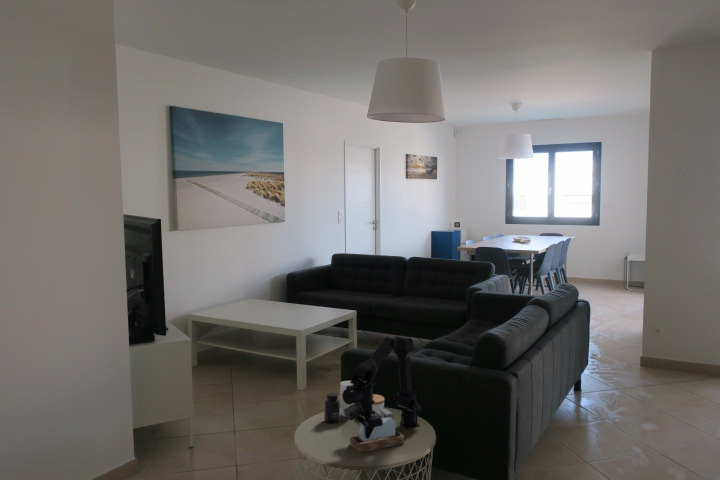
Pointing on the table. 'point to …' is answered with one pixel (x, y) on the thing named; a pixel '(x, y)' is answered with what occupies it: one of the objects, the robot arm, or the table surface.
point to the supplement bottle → (332, 409)
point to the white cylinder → (343, 404)
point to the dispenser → (385, 412)
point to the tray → (376, 442)
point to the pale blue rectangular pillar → (379, 430)
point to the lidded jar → (377, 403)
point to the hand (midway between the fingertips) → (364, 436)
